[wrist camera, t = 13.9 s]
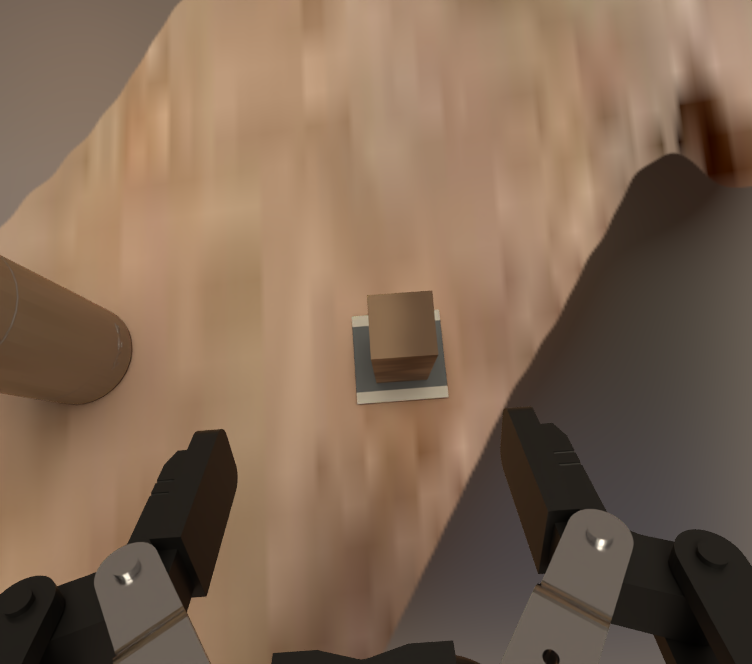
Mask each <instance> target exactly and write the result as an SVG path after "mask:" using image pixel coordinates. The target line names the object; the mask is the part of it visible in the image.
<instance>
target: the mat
mask: <svg viewBox="0 0 752 664" xmlns="http://www.w3.org/2000/svg"><path fill="white" fill-rule="evenodd" d="M434 315H435V325H436V335H437V346H438V357H437V359H436V361H435V363H434V366H433V368H432V370H431V372H430V375H429V377H428V379H427V380H416V381H402V382H387V383H376V379H375V375H374V371H373V366H372V362H371V353H370V337H369V321H368V315H366V316H353V317H352V328H353V344H354V359H355V375H356V391H357V404H367V403H380V402H393V401H406V400H419V399H432V398H445V397H448V388H447V379H446V370H445V361H444V352H443V343H442V334H441V324H440V315H439V310H434Z"/></svg>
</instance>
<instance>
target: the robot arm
mask: <svg viewBox="0 0 752 664" xmlns="http://www.w3.org/2000/svg"><path fill="white" fill-rule="evenodd" d="M131 351H132V348H131V338H130V335H129V331H128V329H127V328H126V326H125V324H124V323H123V322H122V320H121V319H120V318H119V317H118V316H117V315H115V314H113V313H112V312H110V311H109V310H107V309H105V308H103V307H101V306H99V305H97V304H95V303H93V302H91V301H89V300H87V299H85V298H84V297H82V296H80V295H78V294H76V293H74V292H72V291H70V290H68V289H66V288H64V287H62V286H60V285H58V284H56V283H54V282H52V281H50V280H48V279H46V278H44V277H42V276H40V275H38V274H36V273H35V272H33V271H31V270H29V269H27V268H25V267H23V266H21V265H19V264H17V263H15V262H13V261H11V260H9V259H7V258H5V257H3V256H1V255H0V393H2V394H8V395H15V396H21V397H27V398H33V399H38V400H45V401H51V402H58V403H65V404H71V405H75V404H85V403H88V402H92V401H95V400H97V399H99V398H101V397H103V396H104V395H106V394H107V393H108V392H110V391H111V390H112V389H113V388H114V387H115V386H116V385H117V384H118V383H119V382H120V380H121V379H122V377H123V375H124V374H125V372H126V370H127V368H128V365H129V362H130V358H131ZM500 452H501V461H502V466H503V470H504V473H505V476H506V479H507V482H508V485H509V488H510V491H511V494H512V497H513V500H514V503H515V506H516V509H517V512H518V515H519V518H520V521H521V524H522V527H523V529H524V533H525V536H526V539H527V542H528V544H529V548H530V551H531V554H532V557H533V560H534V562H535V566H536V569H537V572H538V574H545V575H544V578H543V580H542V582H541V583H540V584H537V585H536V586H535V588H534V590H533V592H532V594H531V596H530V598H529V601H528V603H527V605H526V607H525V609H524V611H523V614H522V616H521V618H520V621H519V623H518V625H517V627H516V630H515V632H514V634H513V636H512V638H511V640H510V643H509V645H508V647H507V649H506V652H505V654H504V656H503V658H502V661H501V663H500V664H598V663H599V660H600V656H601V653H602V650H603V646H604V643H605V640H606V636H607V633H608V630H609V626H610V623H611V624H615V625H619V626H623V627H626V628H630V629H635V630H638V631H642V632H646V633H650V634H653V635H654V637H655V639H656V641H657V644H658V646H659V649H660V651H661V653H662V655H663V658H664V660H665V662H666V664H752V566H751V565H750V563H749V562H748V560H747V559H746V557H745V556H744V555H743V553H742V552H741V551H740V550H739V549H738V548H737V547H736V546H735V545H734V544H732V543H731V542H730V541H728V540H727V539H725V538H723V537H721V536H719V535H717V534H715V533H712V532H708V531H705V530H696V529H695V530H687V531H684V532H682V533H681V534H679V535H678V536H677V538H676V539H675V542H673V541H668V540H663V539H658V538H653V537H648V536H644V535H640V534H637V533H635V532H632V531H630V530H629V529H628V528H627V526H626V525H625V524H624V523H623V522H622V521H621V520H619V519H618V518H617V517H615V516H613V515H612V514H609V513H608V512H607V511H606V509H605V508H604V506H603V504H602V502H601V500H600V498H599V496H598V494H597V492H596V491H595V489H594V487H593V485H592V483H591V481H590V479H589V477H588V475H587V473H586V472H585V470H584V468H583V466H582V465H581V463H580V460H579V458H578V456H577V454H576V453H575V452H574V449H573V447H572V445H571V443H570V441H569V439H568V437H567V435H566V434H564V433H563V432H562V431H561V430H560V429H559V428H557V427H556V426H555V425H554V424H553V423H547V424H540V423H539V420H538V418H537V416H536V414H535V412H534V410H533V408H532V407H530V406H529V407H528V406H527V407H515V408H505V409H504V410H503V418H502V432H501V447H500ZM237 479H238V477H237V467H236V464H235V461H234V457H233V454H232V451H231V448H230V444H229V441H228V438H227V435H226V432H225V431H224V430H223V429H218V430H205V431H196V432H195V433H194V435H193V437H192V440H191V442H190V444H189V447H188V449H187V450H181V451H177V452H176V453H175V454H174V455H173V456H172V457H171V458H170V459H169V460H168V461H167V463H166V464H165V465H164V466H163V469H162V471H161V473H160V475H159V477H158V479H157V483H156V484H155V486H154V488H153V490H152V492H151V496H150V497H149V499H148V501H147V503H146V505H145V507H144V510H143V512H142V514H141V516H140V518H139V520H138V522H137V525H136V527H135V529H134V531H133V533H132V535H131V537H130V540H129V542H128V544H127V545H125V546H123V547H121V548H119V549H117V550H116V551H114V552H113V553H112V554H110V555H109V556H108V557H107V558H106V559H105V560H104V561H103V562H102V564H101V565H100V567H99V568H98V570H97V572H95V573H93V574H90V575H88V576H85V577H82V578H79V579H77V580H74V581H71V582H68V583H65V584H62V585H60V586H56V584H55V583H54V582H53V580H52V579H51V578H49V577H46V576H33V577H29V578H26V579H23V580H21V581H19V582H17V583H15V584H14V585H12V586H11V587H9V588H8V589H6V590H5V591H4V592H3V593H1V594H0V664H211V663H210V661H209V659H208V656H207V654H206V652H205V650H204V648H203V646H202V644H201V642H200V640H199V637H198V635H197V633H196V631H195V629H194V627H193V625H192V623H191V620H190V618H189V616H188V614H187V610H188V607H189V603H190V600H191V597H205V596H207V593H208V589H209V586H210V582H211V578H212V575H213V571H214V568H215V564H216V560H217V557H218V553H219V550H220V546H221V542H222V539H223V535H224V532H225V528H226V524H227V521H228V517H229V514H230V510H231V506H232V503H233V499H234V496H235V492H236V488H237ZM271 664H480V663H478V662H476V661H473V660H471V659H468V658H465V657H462V656H457V655H455V650H454V643H453V641H442V642H426V643H412V644H406V645H404V646H401V647H398V648H395V649H393V650H390V651H387V652H384V653H382V654H379V655H376V656H373V657H371V658H368V659H363V660H360V659H355V658H350V657H346V656H341V655H337V654H332V653H328V652H323V651H319V650H312V651H297V652H283V653H273V656H272V663H271Z"/></svg>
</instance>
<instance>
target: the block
mask: <svg viewBox="0 0 752 664" xmlns="http://www.w3.org/2000/svg"><path fill="white" fill-rule="evenodd" d="M367 305H368V321H369V337H370V353H371V362H372V366H373V371H374V375H375V379H376V383H387V382H402V381H416V380H427V379H428V377H429V375H430V372H431V370H432V368H433V366H434V363H435V361H436V359H437V357H438V346H437V335H436V325H435V315H434V305H433V294H432V291H421V292H407V293H393V294H379V295H367Z"/></svg>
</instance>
